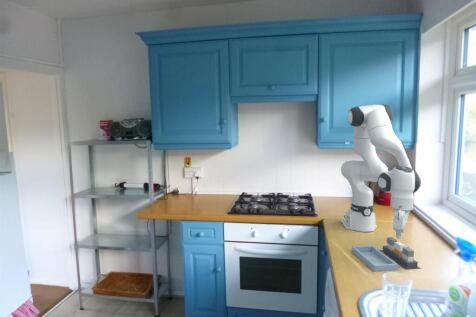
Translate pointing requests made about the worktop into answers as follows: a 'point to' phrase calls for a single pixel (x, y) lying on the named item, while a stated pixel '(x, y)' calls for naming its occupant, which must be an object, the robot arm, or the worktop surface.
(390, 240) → the block
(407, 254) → the outer fuse
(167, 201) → the worktop surface
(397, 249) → the marked fuse
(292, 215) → the worktop surface
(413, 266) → the fuse block
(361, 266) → the worktop surface
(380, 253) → the tray
